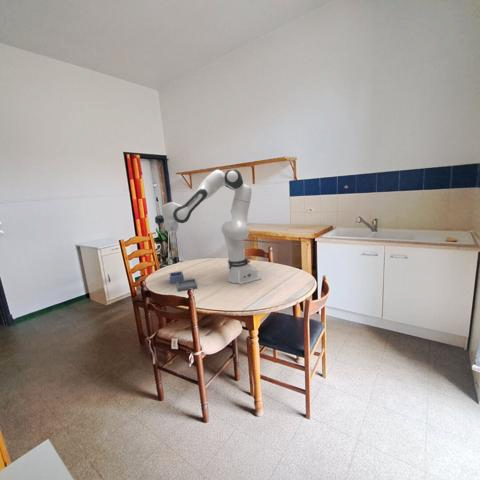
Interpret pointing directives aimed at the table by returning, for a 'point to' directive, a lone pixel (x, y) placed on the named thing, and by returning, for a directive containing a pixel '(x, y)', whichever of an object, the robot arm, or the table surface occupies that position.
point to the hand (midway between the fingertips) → (174, 246)
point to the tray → (187, 284)
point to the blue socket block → (176, 277)
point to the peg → (174, 250)
